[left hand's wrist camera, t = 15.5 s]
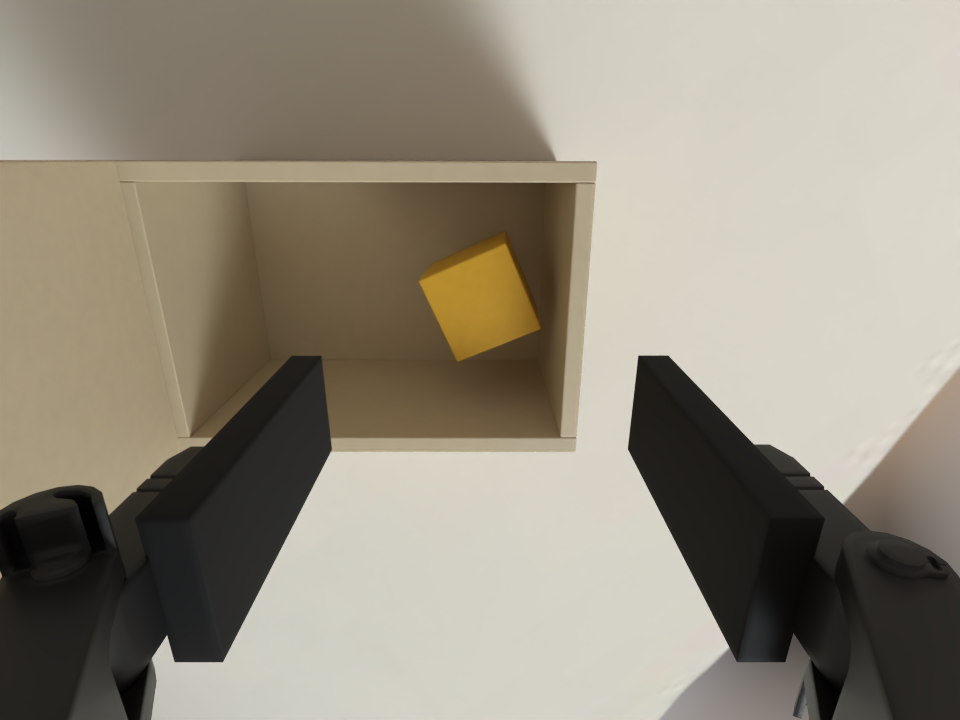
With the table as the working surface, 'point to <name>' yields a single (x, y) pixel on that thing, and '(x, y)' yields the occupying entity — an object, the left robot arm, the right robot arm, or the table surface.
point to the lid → (75, 337)
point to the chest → (362, 293)
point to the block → (480, 297)
